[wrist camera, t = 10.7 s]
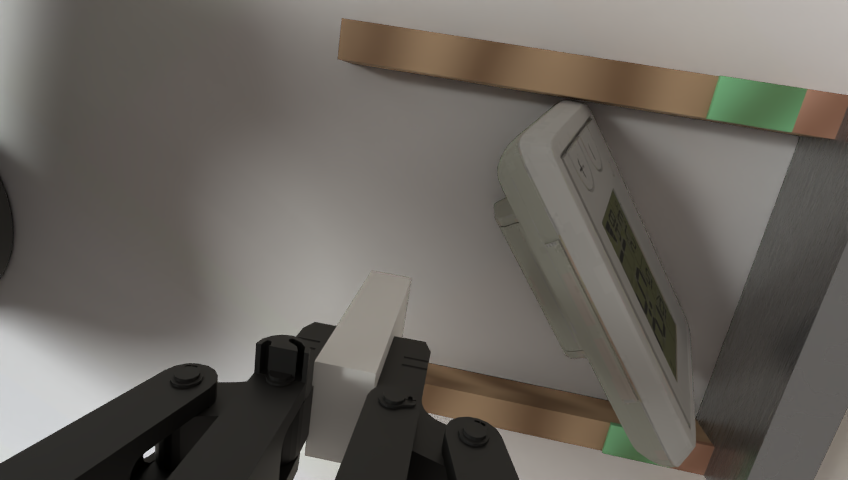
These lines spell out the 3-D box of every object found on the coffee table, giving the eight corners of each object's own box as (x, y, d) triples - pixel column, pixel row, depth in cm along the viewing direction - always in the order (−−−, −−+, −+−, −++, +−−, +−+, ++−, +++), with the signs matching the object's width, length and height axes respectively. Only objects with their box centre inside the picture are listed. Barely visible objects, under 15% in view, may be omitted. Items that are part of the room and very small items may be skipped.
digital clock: (684, 342, 30) (786, 462, 20) (539, 371, 32) (564, 495, 21) (632, 78, 26) (723, 58, 16) (472, 127, 28) (464, 137, 18)
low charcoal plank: (686, 445, 32) (730, 519, 26) (814, 97, 25) (909, 94, 20) (733, 455, 31) (788, 533, 26) (874, 107, 25) (988, 106, 19)
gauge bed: (317, 366, 34) (303, 387, 31) (354, 25, 27) (340, 17, 25) (733, 455, 31) (755, 486, 29) (874, 106, 25) (918, 106, 23)
